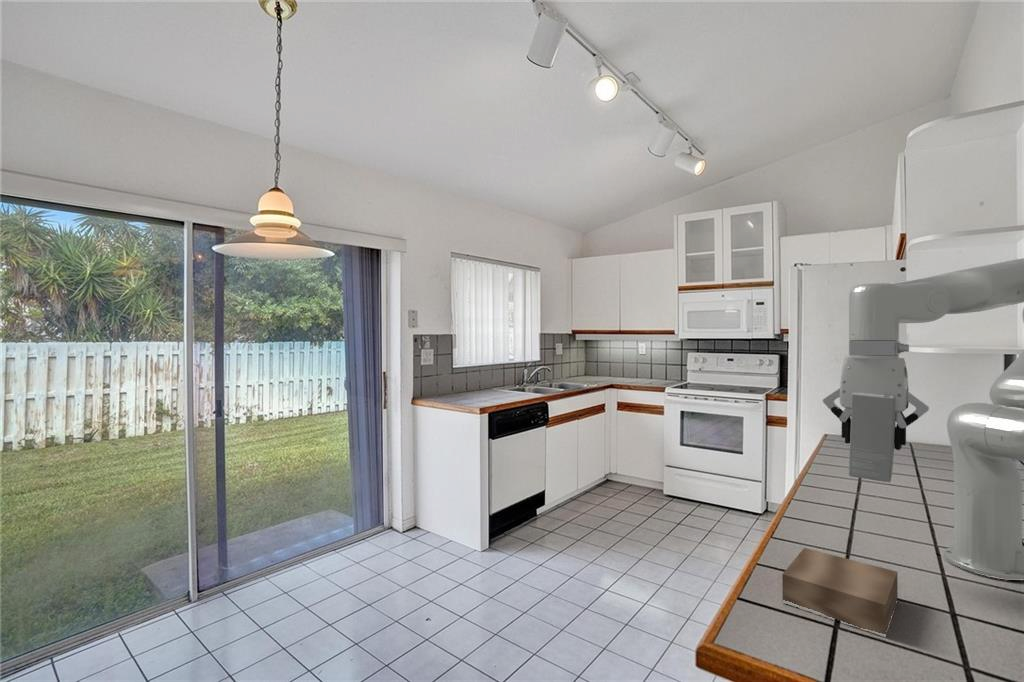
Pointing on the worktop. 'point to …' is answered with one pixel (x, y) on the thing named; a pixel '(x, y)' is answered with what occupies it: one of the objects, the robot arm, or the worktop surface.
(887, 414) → the skincare box
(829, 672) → the worktop surface
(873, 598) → the walnut box
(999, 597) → the worktop surface
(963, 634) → the worktop surface
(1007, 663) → the worktop surface
